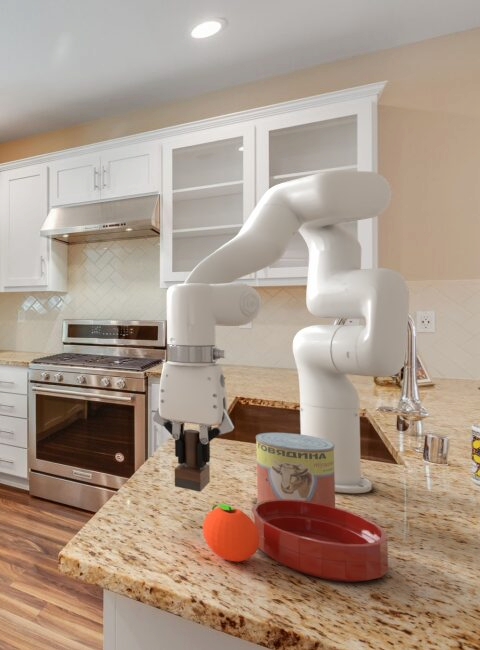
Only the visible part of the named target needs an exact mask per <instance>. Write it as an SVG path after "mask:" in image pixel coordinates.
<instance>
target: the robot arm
mask: <svg viewBox="0 0 480 650" xmlns="http://www.w3.org/2000/svg"><path fill="white" fill-rule="evenodd" d="M391 201H392V188H391V186H390V183H389V182H388V180H387V178H385V177H384V176H383V175H381V174H379V172H374V171H366V170H365V171H364V170H363V171H362V170H361V171H358V170H357V171H355V170H331V171H323V172H318V173H314V174H311V175H306V176H302V177H299V178H295V179H291V180H287V181H284V182H281V183H278V184H275V185H273V186H272V187H270V188H268V189H267V190H266V192H265V193H264V194H263V195H262V196H261V198H260V200H259V201H258V203H257V204H256V205H255V207H254V208H253V210H252V211H251V214H250V215H249V216H248V218H247V219H246V221H245V223H244V224H243V225H242V227H241V228H240V230H239V231H238V233H237V235H235V236H234V237H233V238H232V239H230V240H229V241H227V242H226V243H224V244H223V245H221V246H219V248H217V249H216V250H215V251H214V252H212V253H210V255H208V256H206V257H205V258H203V259H202V260H201V261H200V262H199V263H197V265H196V266H195V267H194V268H193V269H192V271H190V273H189V274H188V276H187V277H186V279H185V280H184V282H183V283H176V284H172V285H170V286H169V287H168V288H167V291H166V295H165V296H166V297H165V298H166V360H167V361H164V362H163V364H162V369H161V374H160V380H159V389H158V390H159V391H158V408H157V409H156V411H155V413H154V416H153V418H152V419H153V420H152V421H153V422H155V423H156V424H158V425H160V426H161V427H164V428H165V429H166V431H167V432H168V433H169V434H170V435H171V437H172V439H173V440H174V456H175V458H177V463H178V465H180V464H183V463H184V430H185V423H186V424H191V425H192V424H193V425H198V426H199V432H200V439H199V443H198V444H197V466H199V467H200V468H203V467H204V466H205V465H206V464H208V463H210V461H211V443H210V442H211V441H213V440H214V439H215V438H216V437H218V436H221V435H224V434H228V433H231V432H233V430H234V429H235V426H234V423H233V422H232V420H231V418H230V416H229V414H228V401H227V400H228V399H227V390H226V382H225V375H224V370H223V367H222V364H218V363H217V362H218V360H220V359H226V350H225V349H220V348H218V346H217V344H216V326H219V327H238V326H244V325H247V324H250V323H252V322H253V321H255V319H256V318H257V317H258V316H259V315H260V313H261V310H262V299H261V296H260V294H259V292H258V291H257V290H256V289H255V288H254V287H252V286H250V285H249V284H246V283H243V282H234V281H237V280H238V279H239V280H240V279H241V278H243V277H246V276H248V275H251V274H253V273H256V272H258V271H261V270H263V269H265V268H267V267H270V266H272V265H274V264H275V263H278V261H280V260H281V259H282V258H283V257H284V255H285V253H286V252H287V251H288V248H289V247H290V245H291V243H292V242H293V240H294V238H295V237H296V235H297V233H299V234H300V236H302V239H303V240H304V241H305V244H306V246H307V249H308V268H307V278H306V292H305V293H306V294H305V303H306V308H307V310H308V312H309V313H310V314H311V315H313V316H314V317H317V318H321V319H338V320H339V319H340V320H341V319H345V320H346V319H352V320H353V319H357V320H358V319H360V320H361V319H362V320H363V319H364V320H365V325H364V324H362V325H360V324H359V325H358V324H356V325H355V324H353V325H352V324H314V325H309V326H306V327H303V328H302V329H300V330H299V331H297V332H296V334H295V336H294V337H293V340H292V354H293V359H294V361H295V367H296V370H297V378H298V383H299V384H298V388H299V424H300V434H301V435H307V436H313V437H317V438H321V439H324V440H327V441H330V442H331V443H333V444H334V446H335V447H334V476H335V493H344V494H365V493H368V492H370V491H372V489H373V485H372V482H371V480H369V479H368V478H366V477H364V476H362V463H361V461H362V460H361V420H360V419H361V418H360V415H361V414H360V397H359V396H360V395H359V394H358V390H357V389H356V387H355V385H354V384H353V382H352V381H351V380H350V378H349V377H348V375H351V376H363V377H372V378H373V377H374V378H387V377H388V378H389V377H393V376H394V375H397V374H398V373H400V371H401V370H402V368H403V366H404V363H405V361H406V354H407V343H408V327H409V313H410V292H409V291H410V290H409V287H408V283H407V282H406V279H405V277H404V276H403V275H402V274H401V273H400V272H398V271H396V270H394V269H391V268H386V267H385V268H384V267H373V268H362V246H361V243H360V242H359V240H358V239H357V237H355V235H354V234H353V233H352V232H350V231H349V230H348V229H347V228H346V227H344V226H343V225H342V224H344V223H350V222H356V221H357V222H358V221H361V220H363V221H364V220H368V219H373V218H376V217H378V216H380V215H381V214H383V213H385V211H386V210H387V209H388V207H389V206H390V204H391ZM212 427H213V428H212Z"/></svg>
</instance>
